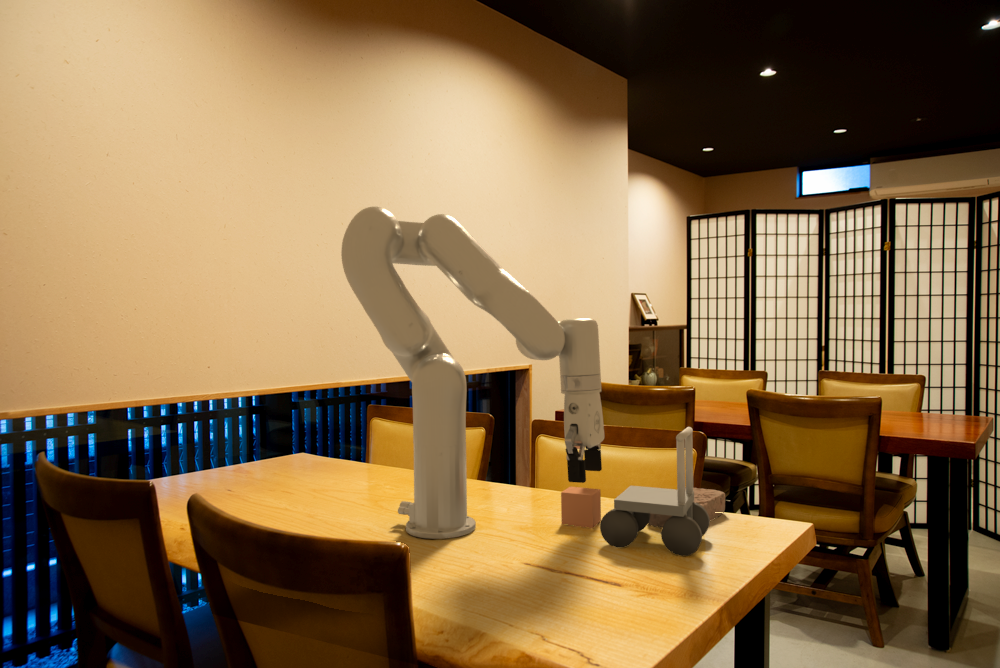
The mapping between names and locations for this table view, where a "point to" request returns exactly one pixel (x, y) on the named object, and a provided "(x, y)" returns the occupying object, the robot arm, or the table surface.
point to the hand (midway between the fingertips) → (585, 476)
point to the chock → (581, 506)
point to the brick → (704, 497)
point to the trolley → (661, 509)
